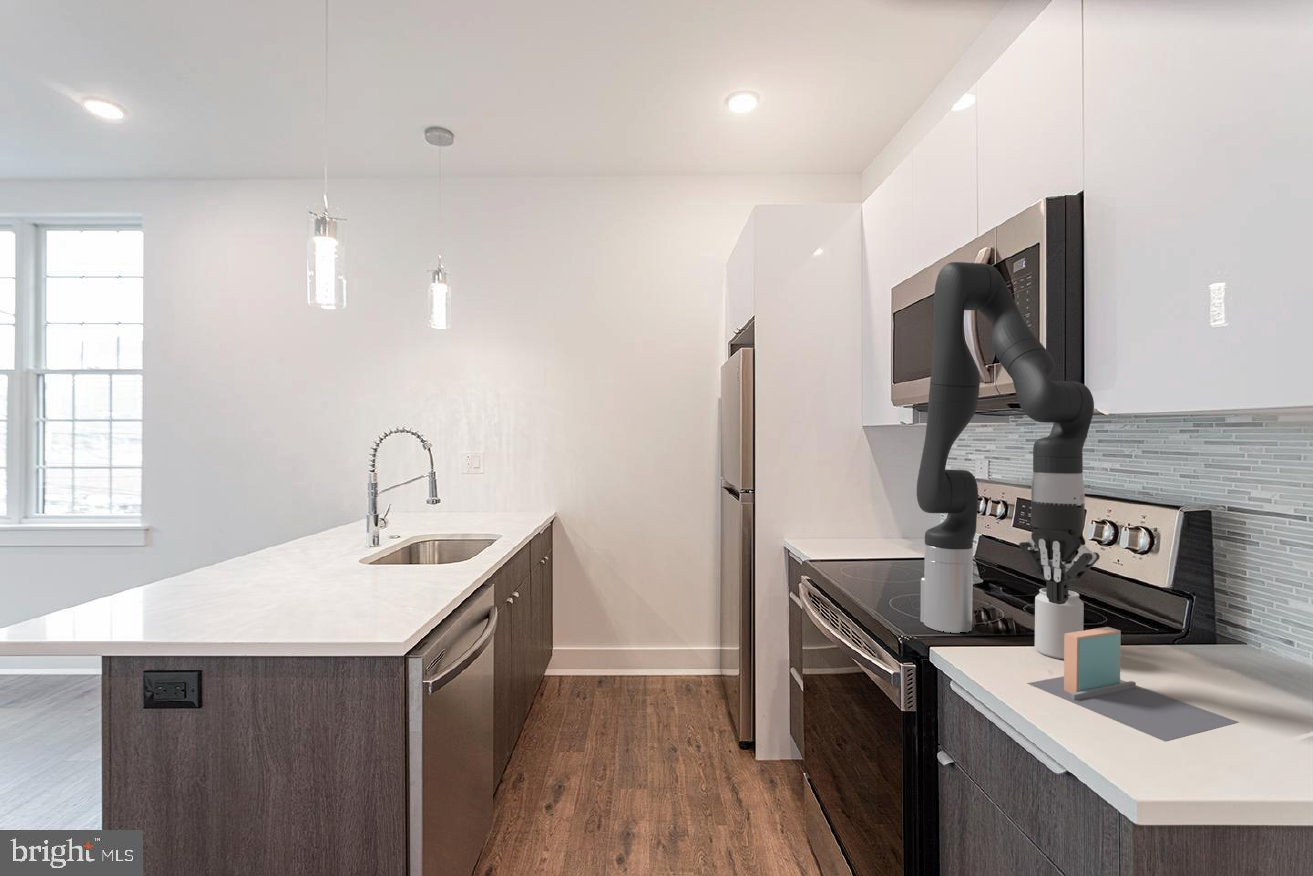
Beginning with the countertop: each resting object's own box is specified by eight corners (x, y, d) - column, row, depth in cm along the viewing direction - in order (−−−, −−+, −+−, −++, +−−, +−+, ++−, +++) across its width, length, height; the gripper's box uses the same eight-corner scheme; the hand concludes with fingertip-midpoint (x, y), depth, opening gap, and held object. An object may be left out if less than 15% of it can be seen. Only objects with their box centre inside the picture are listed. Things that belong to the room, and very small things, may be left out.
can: (1091, 664, 110) (1091, 597, 109) (1044, 661, 111) (1045, 594, 111) (1071, 650, 117) (1072, 587, 117) (1028, 647, 118) (1028, 584, 118)
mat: (1026, 685, 100) (1027, 678, 100) (1094, 672, 106) (1094, 665, 106) (1165, 744, 81) (1165, 735, 81) (1238, 724, 87) (1238, 716, 87)
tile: (1063, 690, 97) (1064, 633, 97) (1107, 681, 101) (1107, 626, 101) (1077, 695, 95) (1077, 637, 95) (1120, 686, 99) (1121, 630, 99)
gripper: (1006, 497, 109) (1006, 595, 109) (1080, 504, 96) (1080, 615, 96) (1037, 496, 111) (1037, 592, 111) (1113, 502, 99) (1113, 611, 99)
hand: (1057, 603), depth 104 cm, fingers closed
